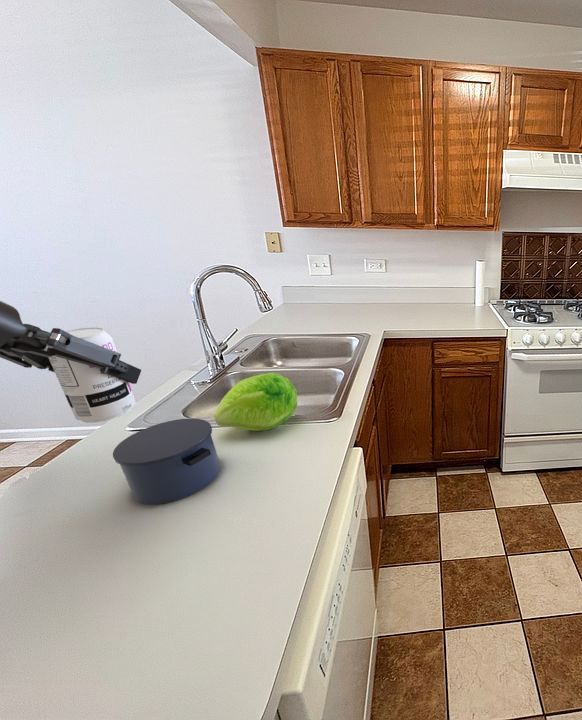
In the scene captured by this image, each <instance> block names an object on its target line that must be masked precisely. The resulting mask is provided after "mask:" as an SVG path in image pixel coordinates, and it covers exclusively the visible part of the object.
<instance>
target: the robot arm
mask: <svg viewBox="0 0 582 720" xmlns="http://www.w3.org/2000/svg"><path fill="white" fill-rule="evenodd" d="M65 331H66V330H63V329H61V328H59V327H53V328H52V329H51V331H46V330H43V329H41V328H40V327H39V326H36V325H32V324H29V323H23V321H22V318H21V314H20V312H19V311H18V309H17V308H15V306H12V305H11V304H9V303H7V302H4V301H2V300H0V359H4V360H5V361H8V362H11V363H13V364H16V365H18V366H21V367H23V368H26V369H27V368H29V369H32V367H34V368H36V369H38V370H46V369H47V371H49V372H52V373H55V372H54V369H53V367H52V365H51V363H50V360H49V358H48V357H51V356H56V357H60V358H64V359H67V360H71V361H75V362H78V363H82V364H85V365H89V366H93V367H96V368H100V371H101V374H109V375H112V376H114V377H117V378H119V379H122V380H124V381H127V382H129V384H133V385H137V384H138V381H139V378H140V376H141V373H142V369H141V368H138V367H136V366H134V365H132V364H129V363H127V362H125V361H122V360H121V356H122V353H119V352H118V351H117V352H114V351H112V350H109V349H107V348H104V347H101V346H99V345H96V344H94V343H91V342H88V341H86V340H83V339H81V338H78V337H75V336H73V335H71V334H69V333H67V332H65ZM47 345H48V349H47V351H45V348H46V346H47ZM119 359H120V360H119Z"/></svg>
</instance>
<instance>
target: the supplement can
mask: <svg viewBox="0 0 582 720" xmlns="http://www.w3.org/2000/svg"><path fill="white" fill-rule="evenodd" d="M64 331H65V332H67V333H69V334H71V335H73V336H75V337H78V338H81V339H83V340H86V341H88V342H91V343H94V344H96V345H99V346H101V347H104V348H107V349H109V350H112V351H114V352H117V353H118V350H117V347H116V345H115V342H114V339H113V337H112V336H111V335H110V334H109V333H108V332H106V331H105V329H104V328H102V327H97V326H96V327H81V328H74V329H67V330H64ZM47 349H48V345H47V346H46V348H45V349H44V350H45V351H47ZM48 358H49V360H50V363H51V365H52V367H53V369H54V372H53V373H54V374H55V376H56V378H57V381H58V382H59V385H60V387H61V390H62V391H63V394H64V396H65V398H66V401H67V403H68V405H69V407H70V409H71V412H72V414H73V416H74V418H75V419H76V420H77V421H81V422H82V423H89V424H90V423H92V424H93V423H101V422H106V421H110V420H113V419H116V418H118V417H121V416H123V415H125V414H127V413H129V412H130V411H131V410H132V409H133V407H134V406H135V405H136V402H137V401H136V397H135V396H134V393H133V390H132V388H131V387H132V386H131V385H130V383H129V382H127V381H124V380H122V379H119V378H117V377H114V376H112V375H109V374H101V371H100V368H96V367H93V366H89V365H85V364H82V363H78V362H75V361H71V360H67V359H64V358H60V357H56V356H51V357H48ZM119 360H120V361H121V358H120V359H119Z"/></svg>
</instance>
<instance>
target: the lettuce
mask: <svg viewBox="0 0 582 720" xmlns="http://www.w3.org/2000/svg"><path fill="white" fill-rule="evenodd" d="M297 407H298V390H297V389H296V387H295V386H294V385H293V383H292V382H291V381H290V379H289V378H287V377H285V376H283V375H282V374H280V373H278V372H263V373H259V374H256V375H252V376H248V377H246V378H243V379H241V380H239V381H238V382H236V384H234V385H233V386H232V387H231V389H229V390H228V391H227V392H226V394H225V395H224V396H223V397H222V399H221V400H220V402H219V403H218V405H217V406H216V408H215V410H214V413H213V418H214V421H215V424H216V425H217V426H219V427H229V428H234V429H239V430H246V431H257V432H261V431H269V430H272V429H274V428H276V427H278V426H280V425H282V424H285V422H286V421H288V420H289V419H290V418H291V417H292V416H293V415H294V413H295V411H296V409H297Z"/></svg>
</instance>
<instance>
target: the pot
mask: <svg viewBox="0 0 582 720" xmlns="http://www.w3.org/2000/svg"><path fill="white" fill-rule="evenodd" d="M212 432H213V428H212V425H211V423H210V422H209V421H208V420H205V419H203V418H195V417H193V418H192V417H191V418H179V419H174V420H168V421H165V422H160V423H157V424H154V425H151V426H148V427H146V428H143V429H140V430H139V431H137V432H134V433H133V434H130V435H129V436H127V437H126V438H124V439H123V440H122V441H120V442H119V443H118V444H117V445H116V446H115V448H114V449H113V451H112V458H113V460H114V462H115V463H116V464H118V465H119V466H120V468H121V470H122V472H123V475H124V476H125V480H126V481H127V484H128V487H129V489H130V491H131V493H132V496H133V498H134V500H135V501H136V502H138V503H139V504H142V505H148V506H150V505H151V506H152V505H153V506H156V505H164V504H168V503H174V502H175V501H176V502H177V501H179V500H182V499H185V498H188V497H190V496H192V495H194V494H196V493H198V492H199V491H201V490H203V489H204V488H206V487H207V486H209V485H210V484H211V483H213V481H214V480H215V479H217V477H218V476H219V474H220V472H221V469H222V467H221V462H220V460H219V455H218V453H217V450H216V446H215V443H214V439H213V437H212Z"/></svg>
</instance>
